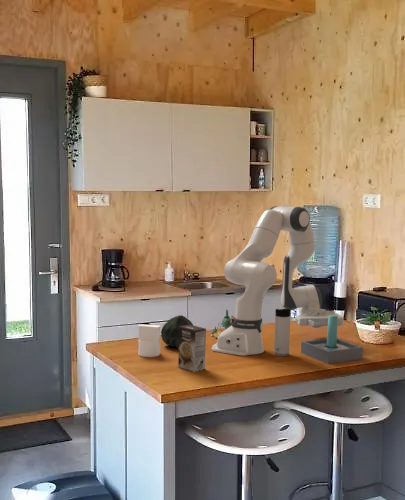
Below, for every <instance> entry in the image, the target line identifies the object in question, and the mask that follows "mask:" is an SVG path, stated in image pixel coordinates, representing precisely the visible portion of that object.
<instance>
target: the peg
mask: <svg viewBox="0 0 405 500" xmlns="http://www.w3.org/2000/svg"><path fill="white" fill-rule="evenodd" d="M337 322H338V316H335V315H329V316H328V326H327V329H326V330H327V331H326V333H327V334H326V339H327V348H336V345H337V339H338V338H337V337H338V326H337Z"/></svg>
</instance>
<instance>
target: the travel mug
mask: <svg viewBox="0 0 405 500" xmlns="http://www.w3.org/2000/svg"><path fill="white" fill-rule="evenodd" d="M274 313H275V316H274V338H273V339H274V340H273V341H274V342H273V345H274V346H273V354H274V356H277V357H288V356H290V355H289V354H290V336H291V335H290V331H291V330H290V329H291V311H290V309H285V308H281V309H280V308H276V309H275V312H274Z"/></svg>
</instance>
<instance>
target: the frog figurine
mask: <svg viewBox="0 0 405 500" xmlns="http://www.w3.org/2000/svg"><path fill="white" fill-rule="evenodd" d="M230 317H231V318H230ZM233 317H234V316H233V315H231V316H229V310H228V309H226V310H225V316H224V317H223V319H222V320H221V322H219V323H218V326H219V327H217V328H216V326H215V327H214V328H213V330H212V331H211V332H210V333H211V334H210V337H214V338H217V339H218V337H219V335H220V334H221V333H222V332H223V331H222V328H224V330H226V329H227V328H229V327H230V326H231V323H230V322H231V319H232V318H233ZM219 324H220V325H219ZM219 328H220V331H218V329H219Z"/></svg>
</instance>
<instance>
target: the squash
mask: <svg viewBox="0 0 405 500" xmlns="http://www.w3.org/2000/svg"><path fill="white" fill-rule="evenodd" d="M184 325H194V323H193V322H192V321H191V320H190V319H189V318H187V317H186V316H184V315H182V314H181V315H175V316H174V317H171V318H170V319H168V320H167V321H166V323H165V322H164V324H163V326H162V327H161V329H160V338H161V340H162V342H163V343H164V344H165V345H167V346H172V347H175V348H177V349H179V326H184Z"/></svg>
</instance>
